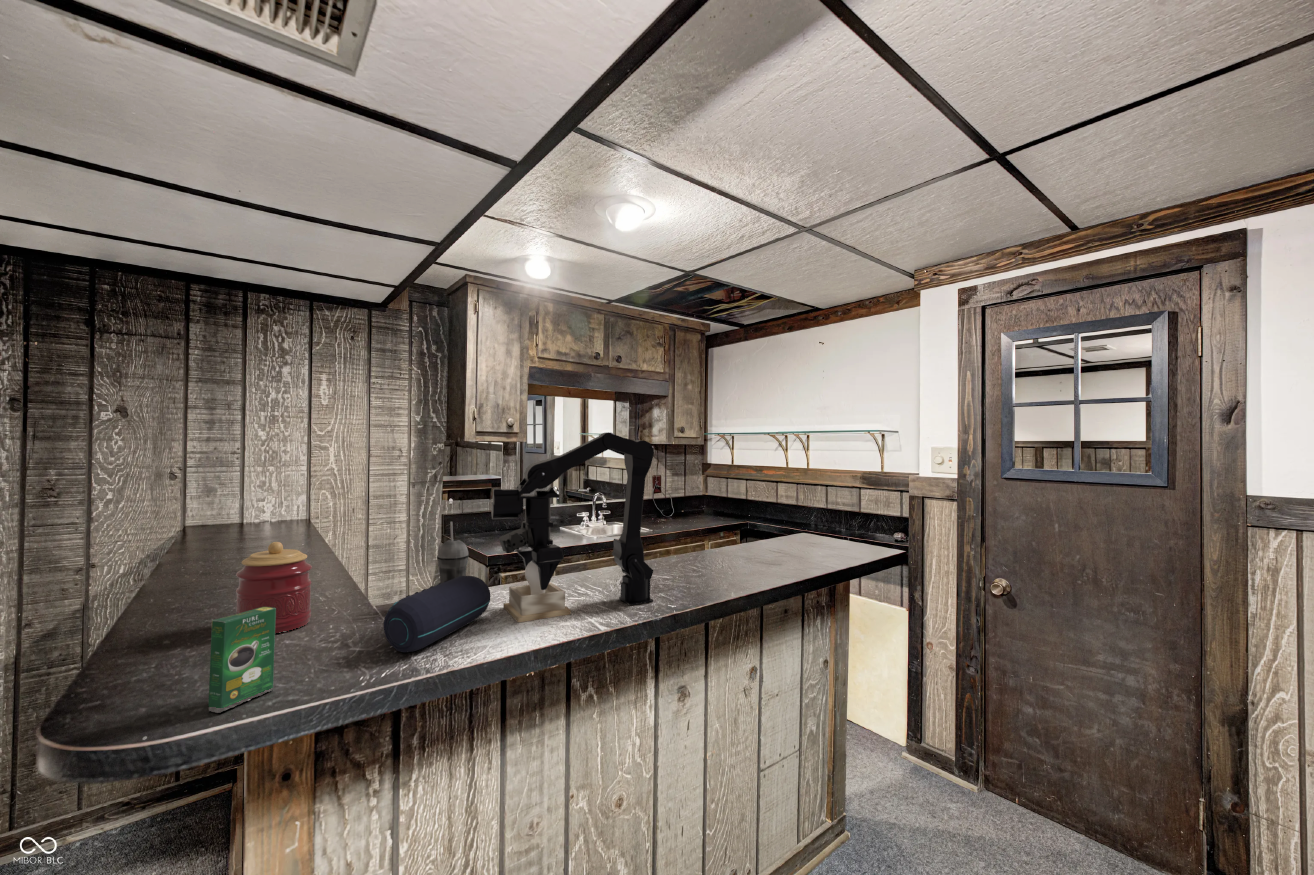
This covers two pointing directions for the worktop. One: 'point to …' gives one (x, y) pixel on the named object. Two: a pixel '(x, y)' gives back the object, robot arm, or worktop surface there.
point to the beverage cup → (452, 558)
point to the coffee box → (241, 656)
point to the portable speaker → (435, 612)
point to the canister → (276, 585)
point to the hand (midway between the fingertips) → (537, 584)
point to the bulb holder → (536, 603)
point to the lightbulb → (533, 578)
